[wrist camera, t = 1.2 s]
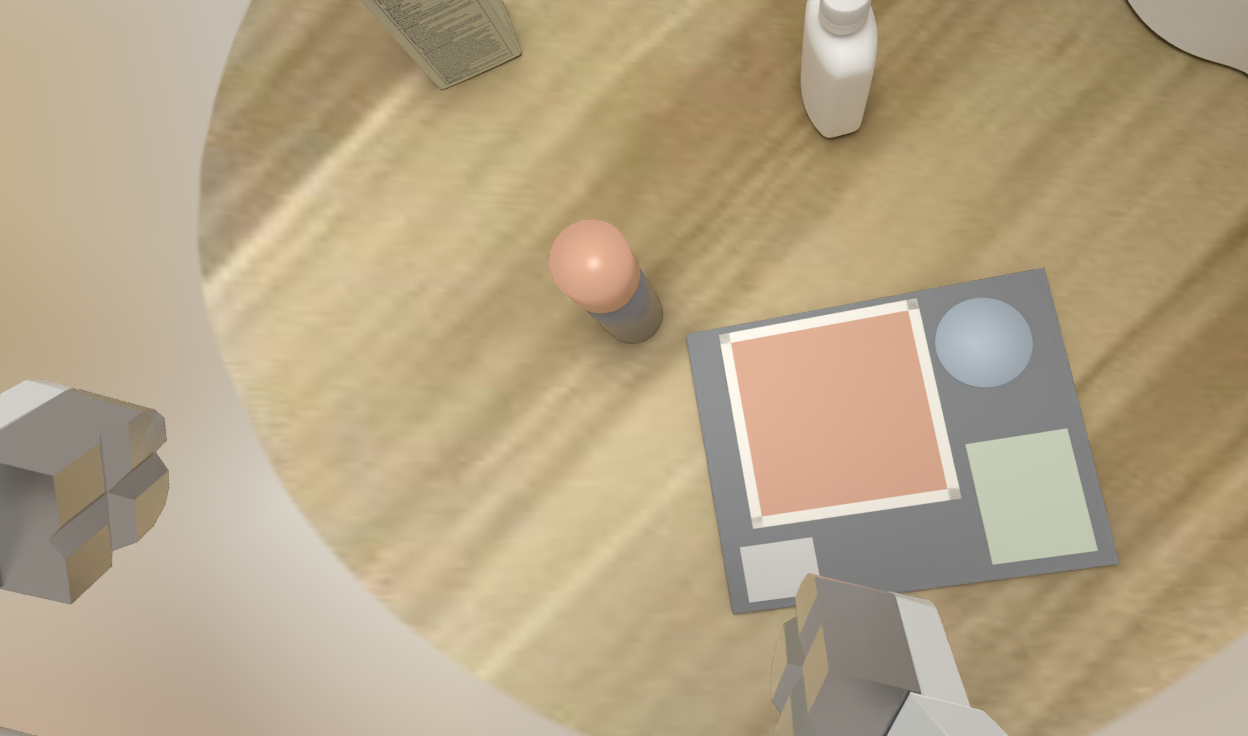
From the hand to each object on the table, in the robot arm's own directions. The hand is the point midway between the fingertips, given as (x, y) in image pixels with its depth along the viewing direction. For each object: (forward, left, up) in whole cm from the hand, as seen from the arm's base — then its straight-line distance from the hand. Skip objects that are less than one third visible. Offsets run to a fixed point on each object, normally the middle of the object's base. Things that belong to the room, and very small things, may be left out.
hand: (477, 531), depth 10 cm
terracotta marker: (+3, -11, -37) cm, 39 cm away
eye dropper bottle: (-11, -22, -37) cm, 45 cm away
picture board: (-10, -1, -37) cm, 38 cm away
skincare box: (+11, -31, -37) cm, 50 cm away
